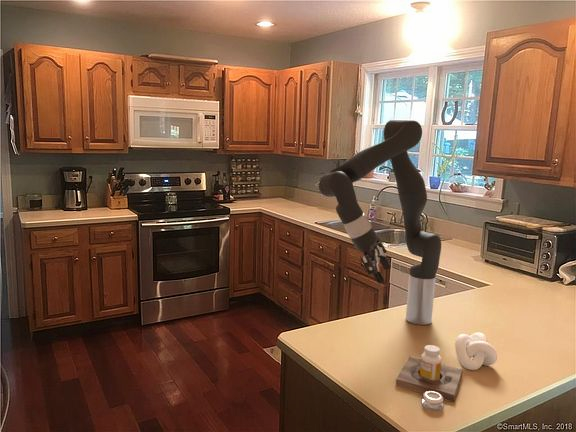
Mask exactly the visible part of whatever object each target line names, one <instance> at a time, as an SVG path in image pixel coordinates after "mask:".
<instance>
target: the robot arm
mask: <svg viewBox="0 0 576 432" xmlns="http://www.w3.org/2000/svg"><path fill="white" fill-rule="evenodd" d="M422 136H423V128H422V125H421V124H420V123H419V121H417V120H414V119H410V118H409V119H405V118H403V119H402V118H400V119H399V118H397V119H390V120H388V121H387V122H386V124H385V125H384V129H383V139H384V141H381V142H379V143H377V144H374V145H371V146H369V147H367V148H364V149H363V150H360V151H359V152H357V153H355V155H353V156H351V157H350V158H348V160H346V161H345V162H344V163H342V164H341V165H339V166H337V167H336V168H334V169H331V170H330V171H328V172H326V173H325V174H324V175H323V176H322V177H321V178H320V180H319V181H318V189H319V192H320V193H321V194H322V195H323V196H325V197H329V198H332V197H333V198H334V197H335V199H336V201H337V205H336V207H335V211H336V214H337V216H338V217H339V219H340V221H341V223H342V224H343V227H344V229H345V232H346V233H347V235H348V237H349V238H350V240H351V242H352V245H354V248H355V249H356V250H358V251H362V253H363V256H361V257H360V261H361V263H362V265H363V266H364V267H363V268H364V269H365V271H366V273H367V274H368V276H370V275H373V277H374V278H375V280H376V282H377V283H378V284H382V283H385V280H386V279H385V276H383V274H382V272H381V270H380V268H379V263H380V264H381V266H382V267H383V269H384V270H385V271H387V270H390V269H391V267H392V266H391V264H390V262H389V261H388V259H387V254H386V253H387V249H386V247H385V246H384V243H383V242H382V241H381V238H380V237H379V236H378V235H377V233H376V231H375V229H374V227H373V226H372V224H371V221H370V220H369V218H368V217H367V215H365V212H364V211H363V209H362V207H361V206H360V204H359V202H358V199H357V195H356V192H355V188H354V185H353V183H356V182H358V181H361V179H363V178H365V177H366V176H367V175H368V174H370V173H371V172H372V171H373V170H375V169H377V168H378V167H379V166H381V165H383V164H384V163H386V162H387V161H389V160H390V162H391V164H392V165H391V166H392V168H393V174H394V178H395V182H396V187H397V193H398V197H399V203H400V206H401V211H402V216H403V222H404V230H405V231H404V233H405V243H406V247H407V249H408V252H409V253H410V254H411V255H413V256H416V257H420V258H421V263H420V264H418V263H417V264H413V265H411V266H410V268H409V273H408V287H407V288H408V289H407V298H406V299H407V300H406V309H405V310H406V311H405V312H406V313H405V320H406V321H407V322H409V323H411V324H414V325H419V326H420V325H421V326H424V325H425V326H426V325H431V323H432V321H433V320H432V319H433V311H434V299H435V290H436V288H435V287H436V280H437V279H436V277H437V271H438V269H439V267H440V265H439V264H440V259H441V253H442V239H441V237H440V236H439V235H438V234H435V233H432V232H428V231H424V230H423V228H422V223H421V216H422V213H423V211H424V210H425V207H426V205H427V201H428V194H427V189H426V183H425V180H424V178H423V176H422V174H421V172H420V171H419V170H418V169H417V167H416V166H415V164H413V162H412V160H411V158H410V155H409V153H408V151H409V150H410V149H412V148H414V147H415V146H417V145H418V144H420V141H421V139H422Z"/></svg>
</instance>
